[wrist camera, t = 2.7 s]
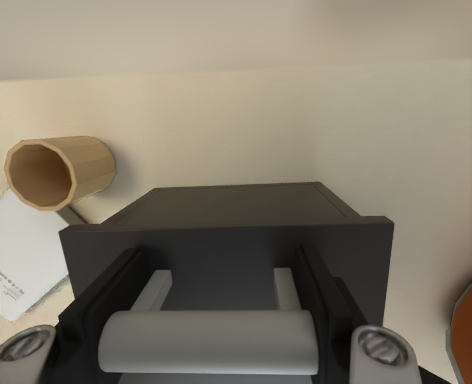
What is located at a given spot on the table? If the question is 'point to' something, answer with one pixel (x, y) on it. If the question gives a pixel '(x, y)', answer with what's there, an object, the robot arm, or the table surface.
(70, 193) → the wooden cup
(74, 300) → the robot arm
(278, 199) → the open storage box
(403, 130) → the table surface
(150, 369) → the lid
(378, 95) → the table surface
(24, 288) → the hard drive
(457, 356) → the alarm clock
